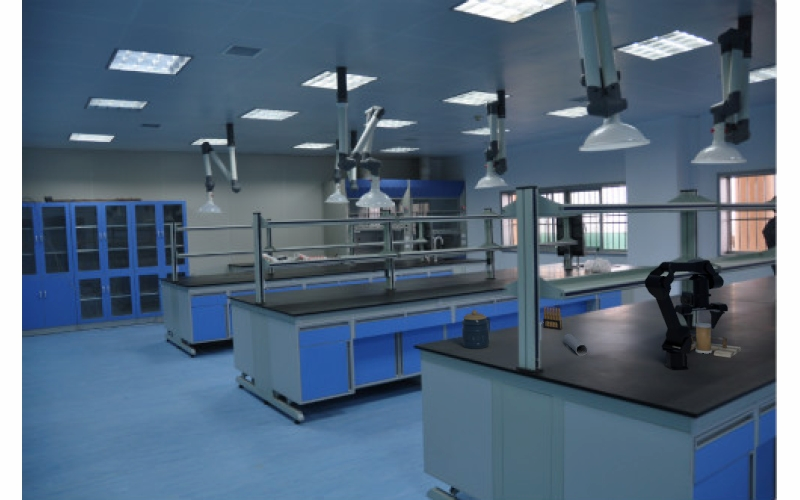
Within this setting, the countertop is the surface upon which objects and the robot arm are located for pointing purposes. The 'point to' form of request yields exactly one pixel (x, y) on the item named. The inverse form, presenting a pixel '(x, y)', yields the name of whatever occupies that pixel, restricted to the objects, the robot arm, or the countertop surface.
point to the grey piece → (719, 347)
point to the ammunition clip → (552, 319)
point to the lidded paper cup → (703, 338)
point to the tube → (575, 344)
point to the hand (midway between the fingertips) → (701, 329)
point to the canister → (475, 331)
